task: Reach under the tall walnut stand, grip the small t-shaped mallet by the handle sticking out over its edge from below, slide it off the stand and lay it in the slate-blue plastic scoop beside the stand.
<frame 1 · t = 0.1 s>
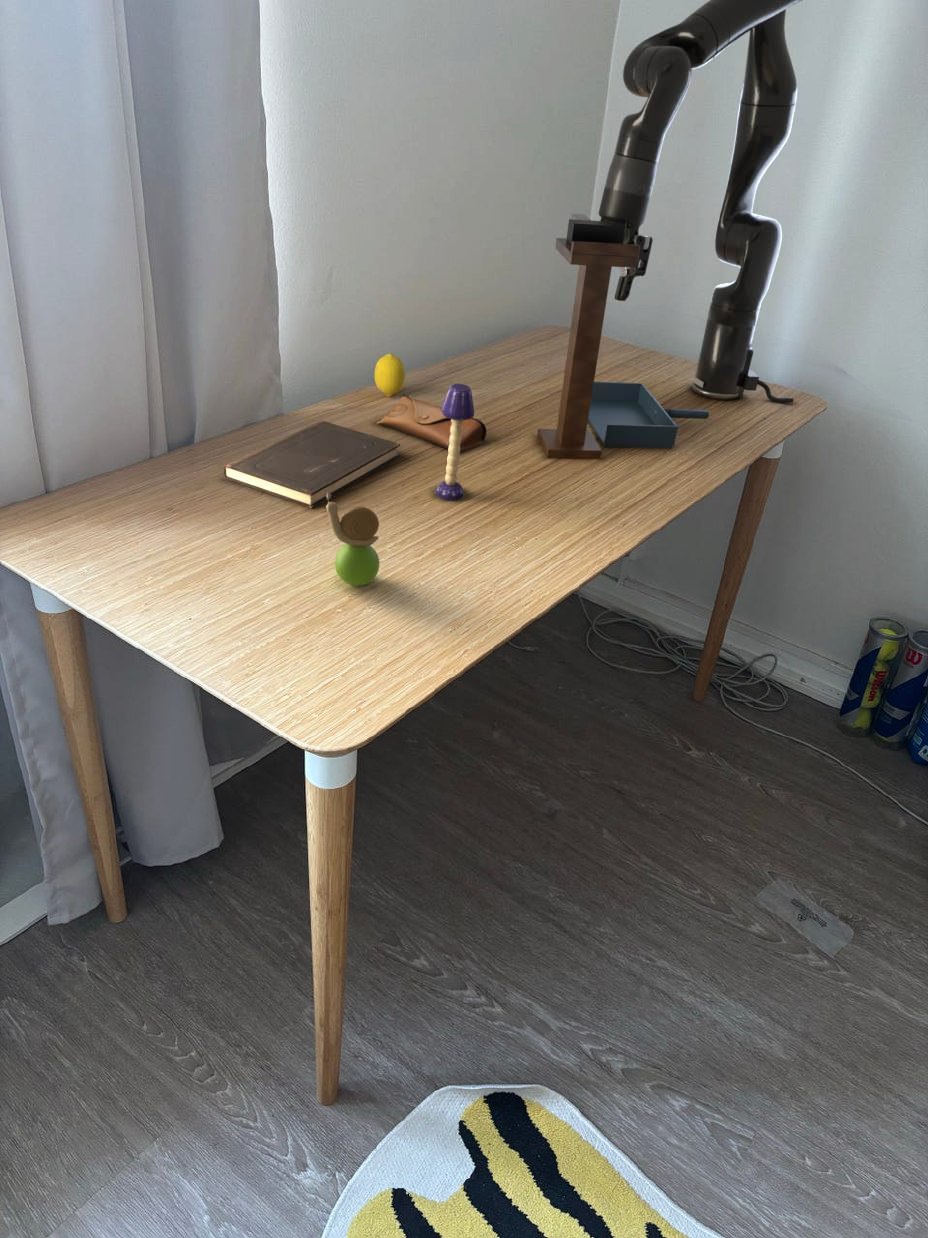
hand: (602, 293, 155), 22 cm above the table, tool pointing down, fingers open, 8 cm apart
stand: (567, 446, 157), on the table
snail figurine: (352, 583, 115), on the table
t-shaped mallet: (589, 241, 143), point 32 cm above the table, touching stand
toy lamp: (450, 496, 138), on the table
sunglasses case: (429, 433, 157), on the table
lemon: (389, 397, 170), on the table
hardcover book: (315, 468, 142), on the table
scoop: (621, 423, 168), on the table
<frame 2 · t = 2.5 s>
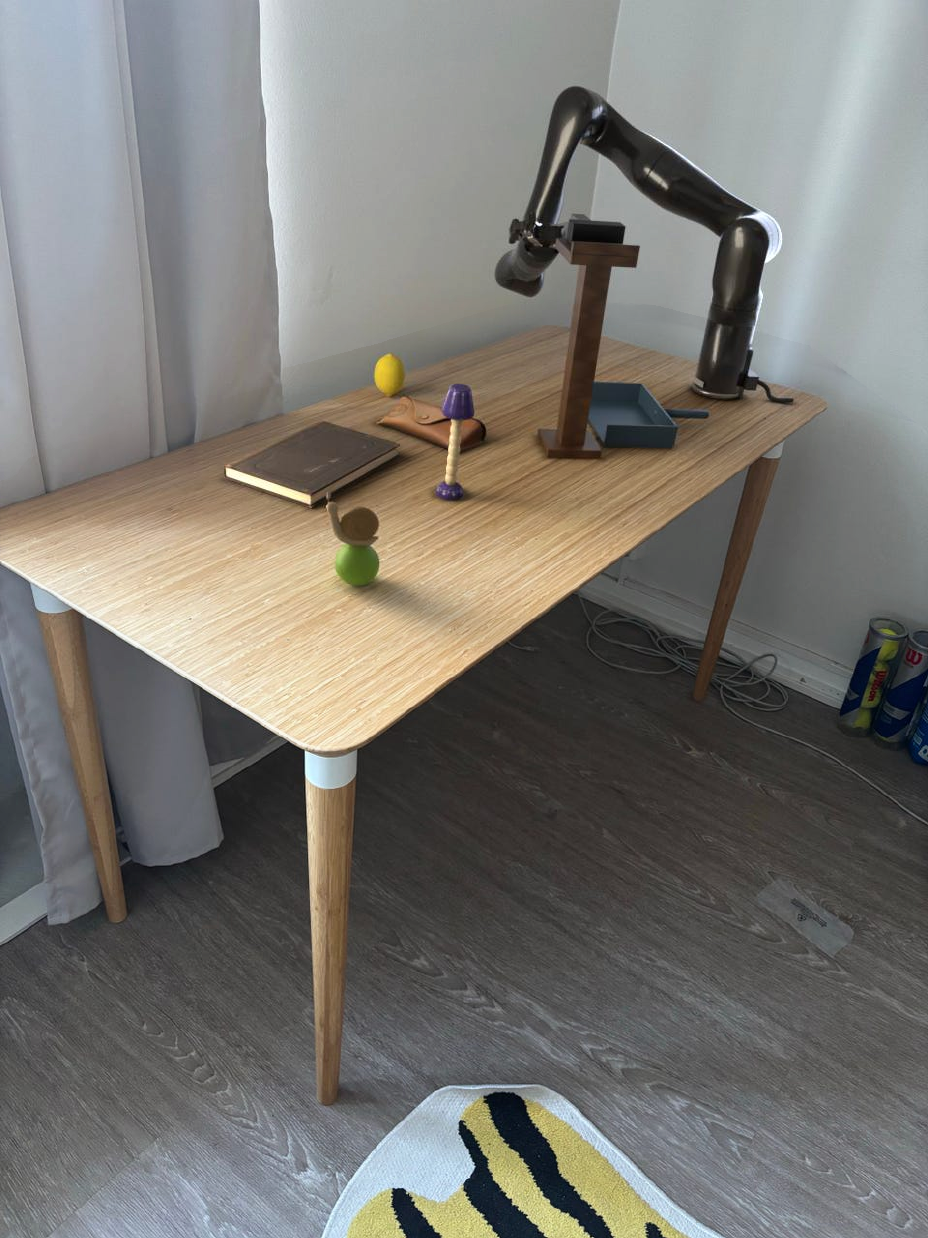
hand: (557, 218, 162), 31 cm above the table, tool pointing upward, fingers open, 8 cm apart
nothing on the table moved.
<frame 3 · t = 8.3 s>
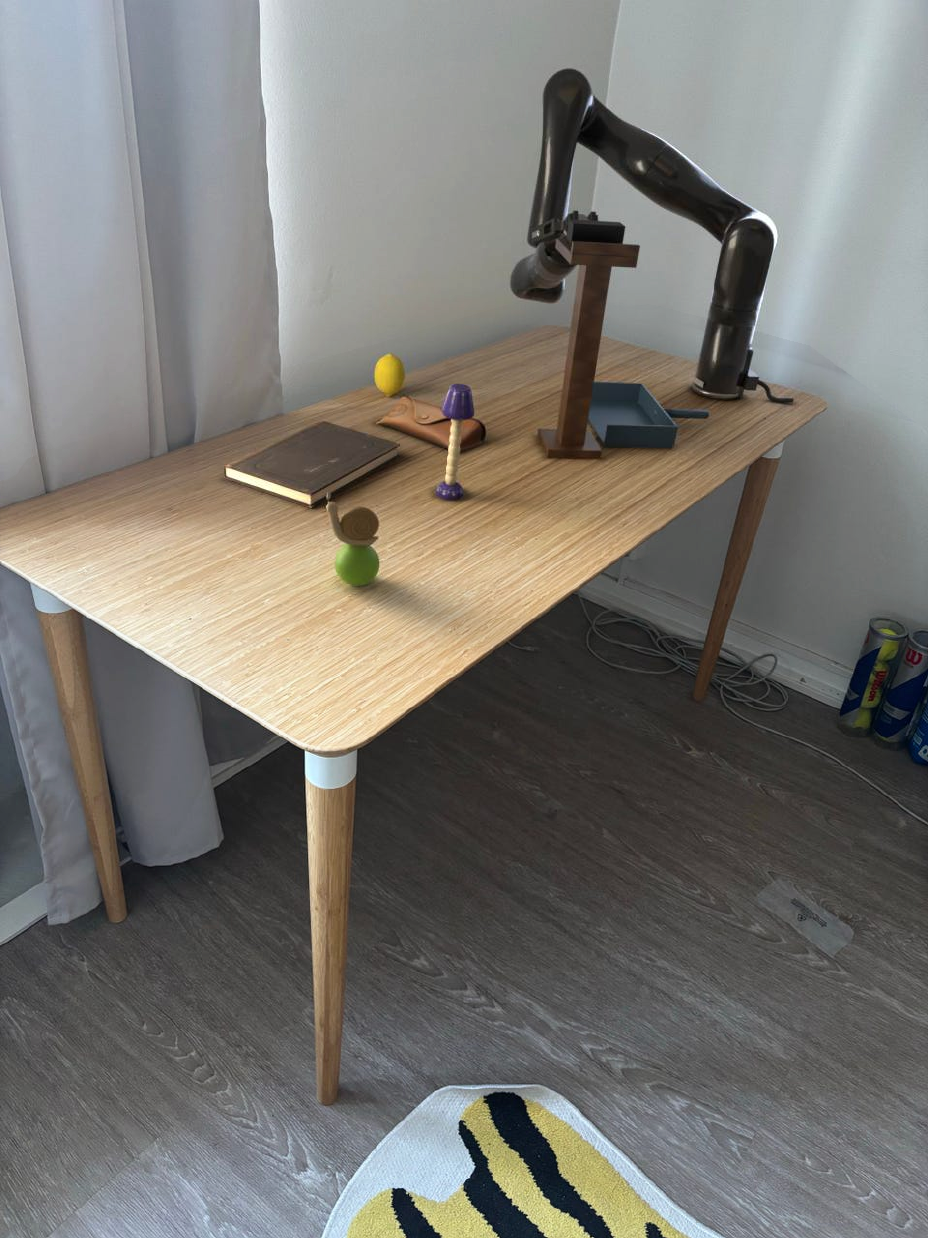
hand: (585, 217, 145), 35 cm above the table, tool pointing upward, fingers closed on t-shaped mallet, 2 cm apart
t-shaped mallet: (589, 241, 143), point 32 cm above the table, touching gripper, stand
everything else where it was.
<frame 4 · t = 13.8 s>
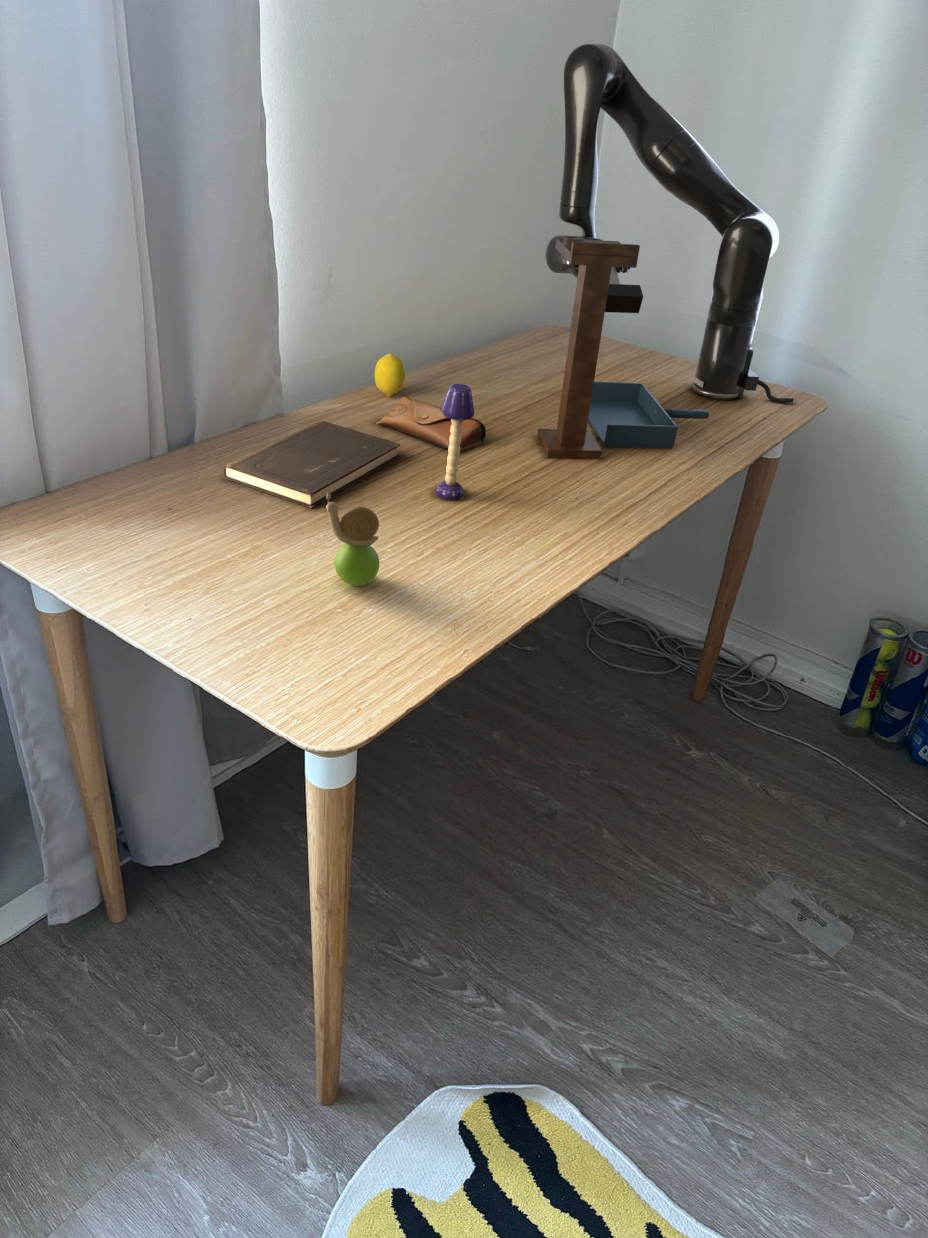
hand: (610, 265, 156), 26 cm above the table, tool horizontal, fingers closed on t-shaped mallet, 2 cm apart
t-shaped mallet: (611, 296, 155), point 22 cm above the table, tilted 21°, touching gripper
everything else where it was.
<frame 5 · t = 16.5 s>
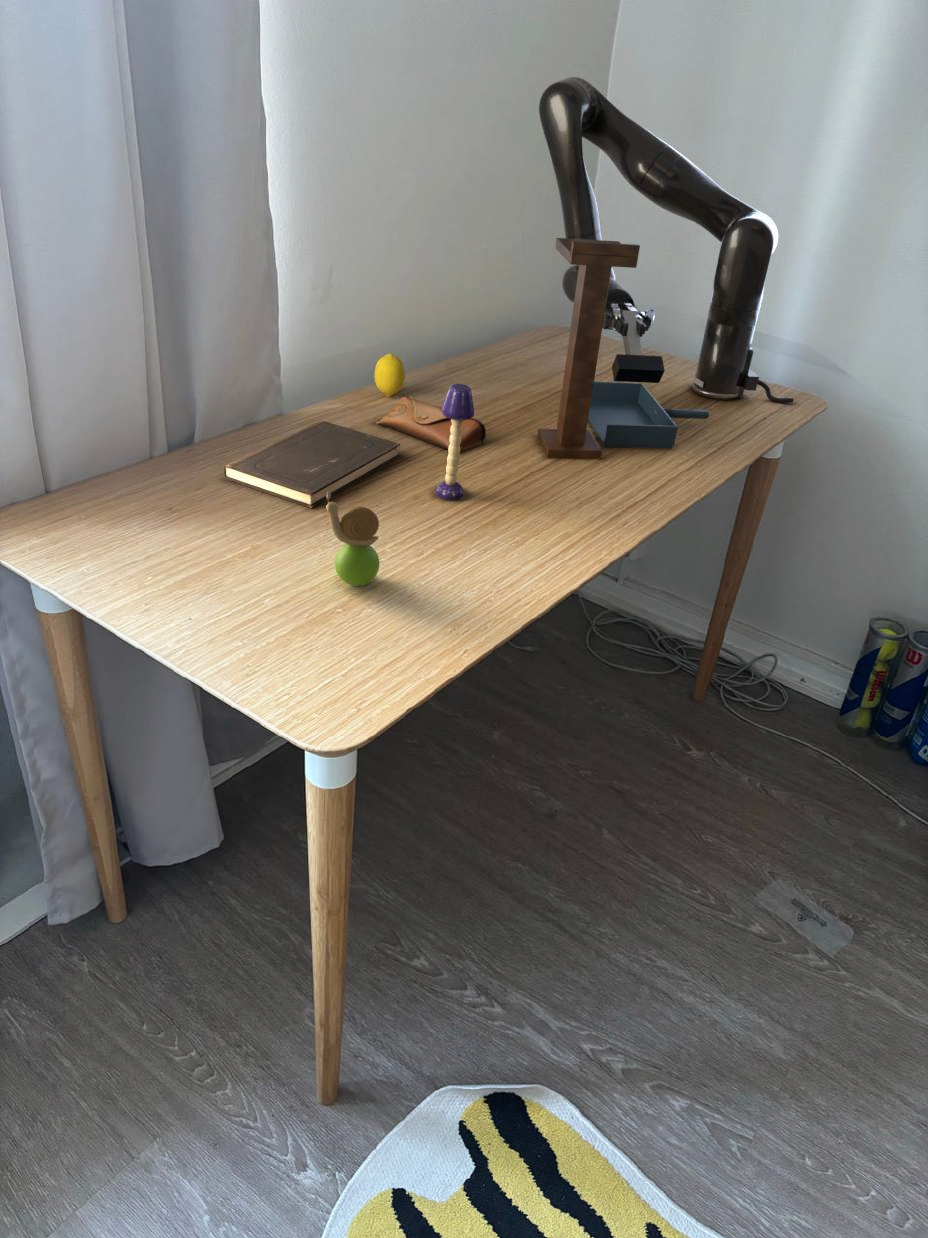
hand: (633, 330, 160), 16 cm above the table, tool horizontal, fingers closed on t-shaped mallet, 2 cm apart
t-shaped mallet: (632, 362, 161), point 12 cm above the table, tilted 31°, touching gripper
everything else where it was.
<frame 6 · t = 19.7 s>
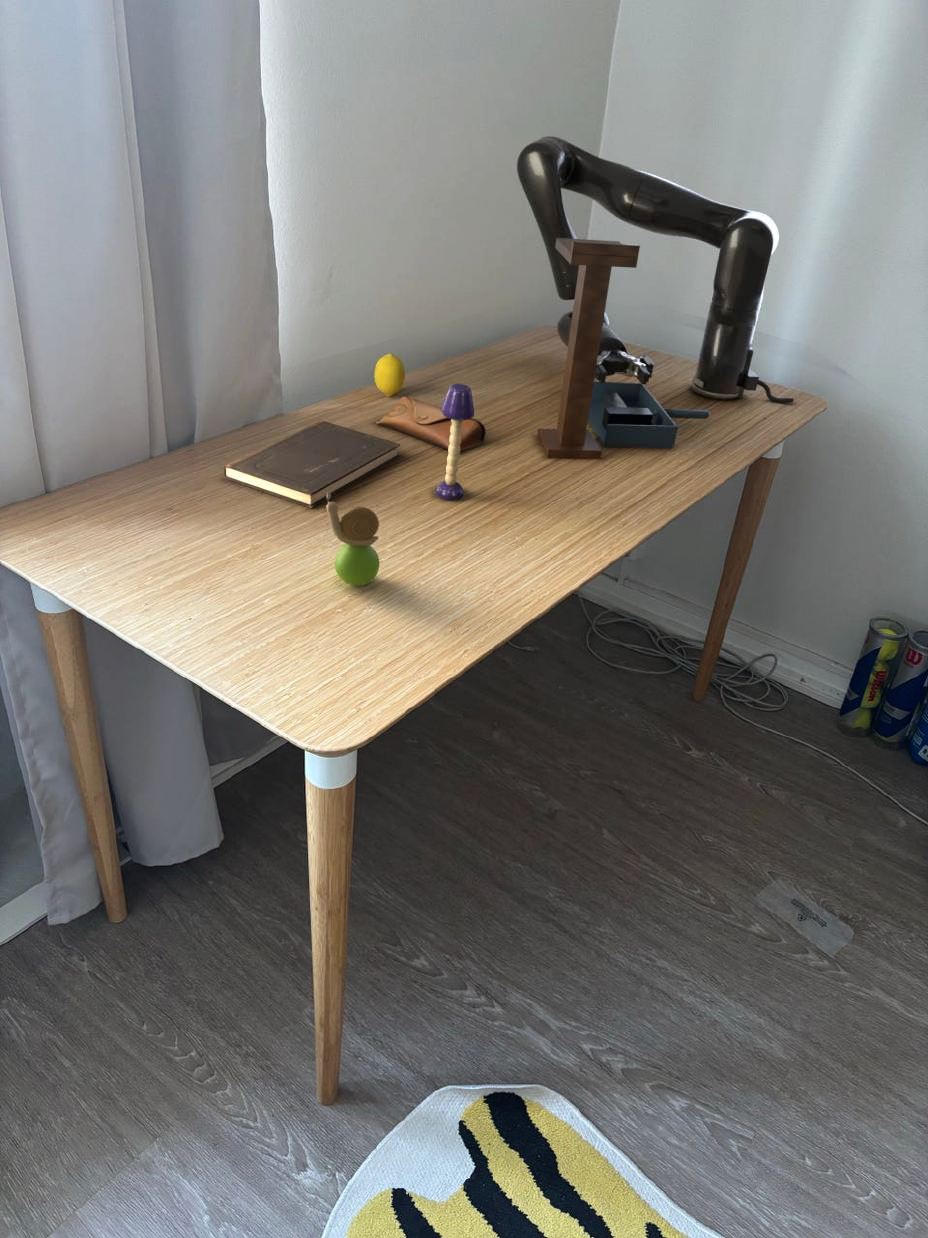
hand: (624, 378, 166), 7 cm above the table, tool horizontal, fingers open, 7 cm apart
t-shaped mallet: (621, 421, 167), resting on scoop
everything else where it was.
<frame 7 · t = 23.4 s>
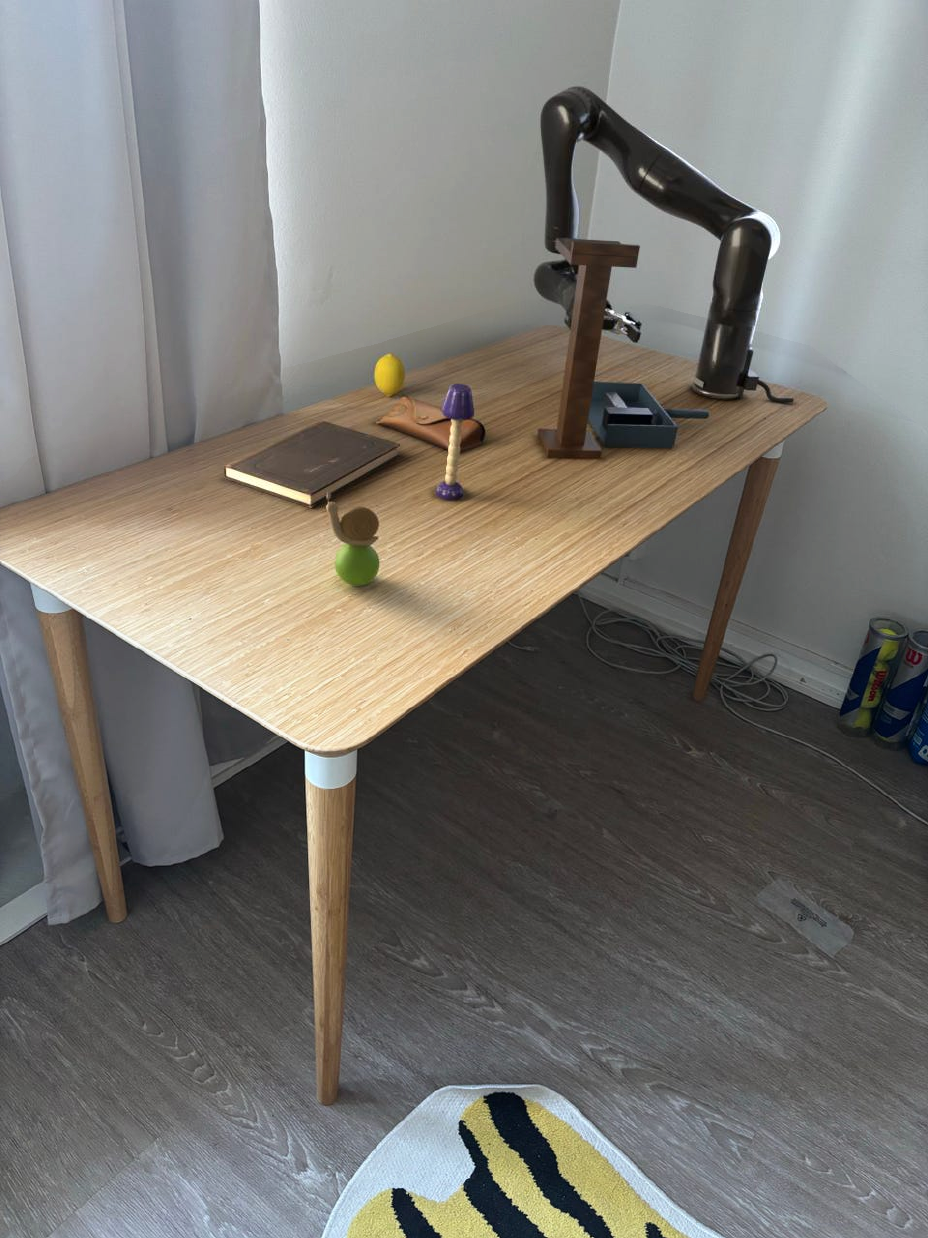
hand: (617, 336, 174), 11 cm above the table, tool horizontal, fingers open, 8 cm apart
nothing on the table moved.
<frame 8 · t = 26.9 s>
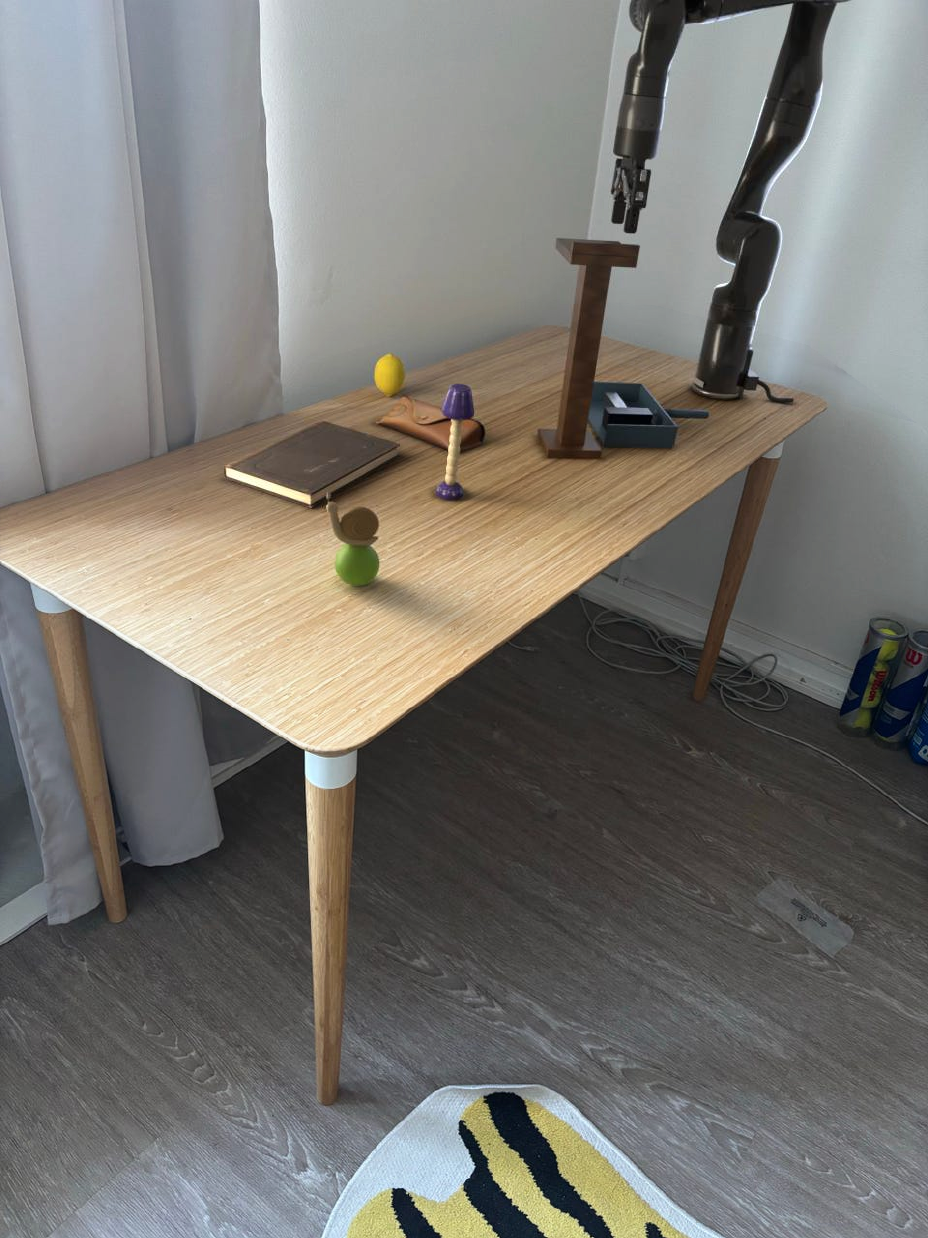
hand: (623, 227, 165), 30 cm above the table, tool pointing down, fingers open, 8 cm apart
nothing on the table moved.
at the end: t-shaped mallet inside the target area in the scoop (0.3 cm from its centre), point 0.4 cm above the scoop's base; the gripper is holding nothing; t-shaped mallet touching scoop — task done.
